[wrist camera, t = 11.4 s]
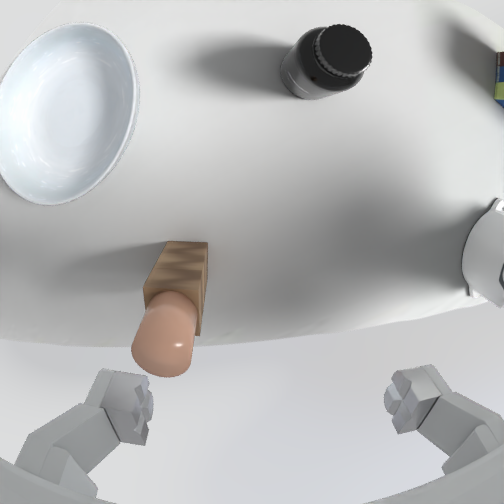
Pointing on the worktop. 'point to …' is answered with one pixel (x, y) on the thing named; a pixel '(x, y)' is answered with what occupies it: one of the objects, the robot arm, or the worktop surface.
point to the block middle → (183, 264)
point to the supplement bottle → (326, 62)
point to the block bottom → (188, 250)
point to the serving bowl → (66, 113)
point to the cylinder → (166, 335)
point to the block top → (176, 287)
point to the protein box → (500, 79)
